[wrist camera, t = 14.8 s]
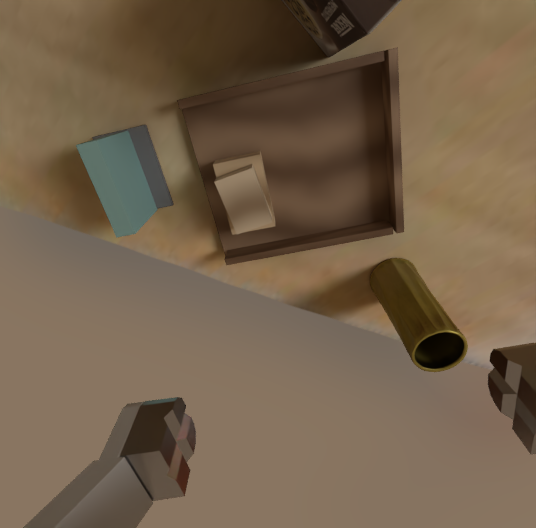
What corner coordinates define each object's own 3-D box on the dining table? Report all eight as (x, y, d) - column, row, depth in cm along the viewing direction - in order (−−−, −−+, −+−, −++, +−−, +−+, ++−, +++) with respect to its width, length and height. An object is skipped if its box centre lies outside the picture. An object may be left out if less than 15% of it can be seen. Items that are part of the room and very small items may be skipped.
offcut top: (217, 176, 36) (214, 181, 35) (252, 163, 36) (251, 168, 34) (238, 227, 39) (237, 234, 37) (272, 215, 38) (272, 222, 36)
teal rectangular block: (110, 134, 37) (75, 145, 31) (128, 130, 37) (96, 140, 30) (141, 212, 41) (116, 237, 35) (157, 209, 41) (135, 233, 34)
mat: (94, 136, 38) (92, 137, 37) (145, 124, 37) (144, 125, 37) (126, 214, 42) (124, 215, 41) (173, 204, 41) (172, 205, 41)
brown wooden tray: (181, 99, 36) (173, 101, 33) (386, 50, 34) (397, 47, 31) (226, 253, 44) (223, 265, 41) (394, 221, 42) (404, 232, 39)
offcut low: (215, 160, 38) (212, 164, 36) (260, 150, 37) (259, 154, 35) (234, 227, 41) (232, 234, 39) (275, 219, 41) (275, 226, 39)
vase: (360, 278, 46) (394, 352, 33) (398, 248, 44) (450, 314, 31) (388, 305, 48) (431, 385, 35) (426, 277, 46) (485, 351, 33)
